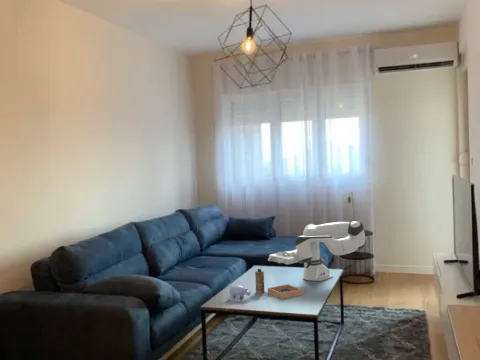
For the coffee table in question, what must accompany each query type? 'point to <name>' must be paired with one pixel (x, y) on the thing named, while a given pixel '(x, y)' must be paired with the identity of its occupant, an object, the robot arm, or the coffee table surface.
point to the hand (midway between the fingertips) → (273, 260)
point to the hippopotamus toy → (238, 292)
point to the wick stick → (259, 281)
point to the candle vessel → (285, 291)
